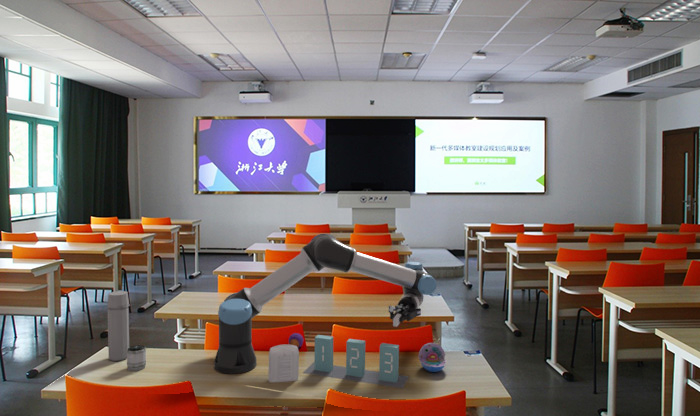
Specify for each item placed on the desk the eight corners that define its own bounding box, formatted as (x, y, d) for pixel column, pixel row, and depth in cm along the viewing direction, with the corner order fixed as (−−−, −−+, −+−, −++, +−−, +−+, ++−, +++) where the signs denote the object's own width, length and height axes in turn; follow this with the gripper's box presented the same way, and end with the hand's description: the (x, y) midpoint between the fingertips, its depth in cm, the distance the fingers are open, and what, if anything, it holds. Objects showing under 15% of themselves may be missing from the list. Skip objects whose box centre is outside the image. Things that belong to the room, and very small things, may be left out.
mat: (302, 373, 169) (302, 372, 169) (313, 363, 178) (313, 362, 178) (402, 389, 158) (402, 388, 158) (408, 377, 167) (408, 376, 167)
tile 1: (314, 370, 171) (314, 337, 170) (317, 366, 174) (317, 334, 173) (329, 372, 169) (330, 339, 168) (333, 369, 172) (333, 336, 171)
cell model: (422, 377, 167) (423, 350, 166) (415, 364, 179) (416, 339, 178) (450, 377, 168) (451, 350, 167) (442, 363, 180) (442, 338, 179)
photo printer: (297, 376, 167) (298, 341, 166) (299, 381, 163) (299, 346, 162) (268, 378, 164) (268, 343, 164) (268, 384, 160) (268, 348, 159)
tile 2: (345, 375, 167) (346, 341, 166) (348, 371, 170) (349, 338, 169) (362, 377, 165) (362, 343, 165) (364, 374, 168) (365, 340, 168)
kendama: (276, 353, 178) (289, 331, 197) (279, 368, 178) (292, 345, 198) (291, 351, 177) (303, 329, 196) (294, 366, 178) (305, 343, 197)
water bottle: (121, 362, 176) (120, 296, 175) (103, 360, 178) (101, 294, 176) (137, 353, 185) (136, 290, 184) (119, 351, 187) (118, 289, 185)
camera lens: (126, 372, 168) (126, 350, 167) (127, 366, 174) (127, 344, 173) (146, 370, 170) (145, 348, 170) (146, 363, 176) (146, 342, 175)
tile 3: (379, 380, 164) (379, 346, 163) (381, 376, 167) (382, 342, 166) (396, 382, 162) (396, 348, 161) (398, 379, 165) (398, 345, 164)
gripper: (424, 316, 191) (413, 335, 168) (392, 312, 195) (377, 330, 172) (424, 297, 190) (413, 314, 168) (392, 294, 194) (377, 310, 172)
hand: (395, 322), depth 170 cm, fingers closed
